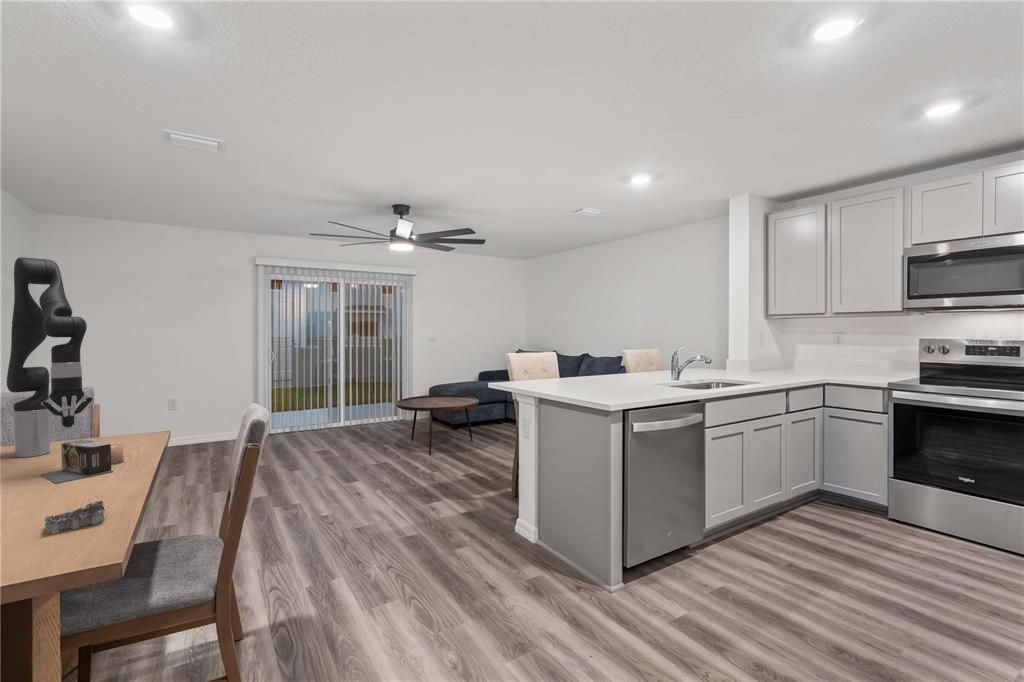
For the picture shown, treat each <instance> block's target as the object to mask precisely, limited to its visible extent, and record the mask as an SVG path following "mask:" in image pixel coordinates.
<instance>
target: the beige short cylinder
mask: <svg viewBox="0 0 1024 682" xmlns="http://www.w3.org/2000/svg"><path fill="white" fill-rule="evenodd" d="M110 445H111V466H112V465H113V464H114V465H117V464H118V465H119V464H121V463H123V462H124V461H125V460H124V457H125V456H124V443H113V444H111V443H110Z"/></svg>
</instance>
